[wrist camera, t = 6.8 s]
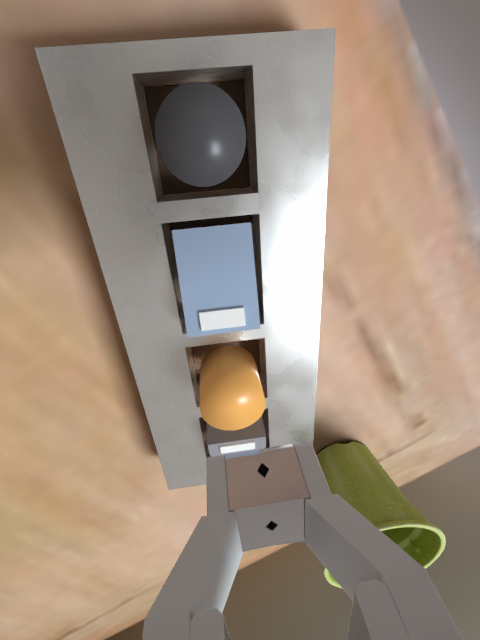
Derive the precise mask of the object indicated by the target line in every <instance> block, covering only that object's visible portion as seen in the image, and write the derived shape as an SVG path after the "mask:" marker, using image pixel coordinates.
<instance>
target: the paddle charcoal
mask: <svg viewBox="0 0 480 640" xmlns="http://www.w3.org/2000/svg"><path fill="white" fill-rule="evenodd" d="M206 425H207V445H208V449H209V453H210V456H211V457H212V456H219V455H225V454H233V453H240V452H248V451H256V450H259V449H264V448H266V433H265V428H264V423H263V418H262V416H261V417H260V418H259V419H258V420H257V421H256V422H255V423H253V424H252V425H250V426H248V427H246V428H243V429H239V430H221V429H217V428H214V427H212V426H211V425H209V424H208V423H207V422H206Z"/></svg>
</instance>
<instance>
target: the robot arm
mask: <svg viewBox="0 0 480 640" xmlns="http://www.w3.org/2000/svg"><path fill="white" fill-rule="evenodd" d="M206 469H207V516H203V517H201V519H200V520H199V522H198V524H197V526H196V528H195V529H194V531H193V533H192V535H191V537H190V538H189V540H188V542H187V544H186V546H185V547H184V549H183V551H182V553H181V555H180V556H179V558H178V560H177V562H176V564H175V565H174V567H173V569H172V571H171V573H170V574H169V576H168V578H167V580H166V582H165V583H164V585H163V587H162V589H161V591H160V592H159V594H158V596H157V598H156V600H155V601H154V603H153V605H152V607H151V609H150V610H149V612H148V614H147V616H146V618H145V623H144V630H143V638H142V640H230V637H229V634H228V630H227V626H226V623H225V619H224V616H223V614H222V611H223V609H224V605H225V603H226V600H227V597H228V594H229V592H230V589H231V586H232V583H233V580H234V577H235V575H236V572H237V569H238V566H239V563H240V561H241V558H242V555H243V553H242V552H244V551H249V550H253V549H258V548H263V547H268V546H273V545H280V544H287V543H293V542H300V541H305V543H306V544H307V546H308V547H309V548H310V549H311V551H312V552H313V553H314V554H315V555H316V557H317V558H318V559H319V560H320V562H321V563H322V564H323V565H324V566H325V568H326V569H327V570H328V571H329V573H330V574H331V575H332V576H333V577H334V579H335V580H336V581H337V582H338V583H339V585H340V586H341V587H342V588H343V590H344V591H345V592H346V593H347V594H348V596H349V597H350V598H351V599H352V601H353V605H352V612H351V619H350V624H349V630H348V636H347V639H348V640H463V638H462V636H461V634H460V632H459V630H458V629H457V627H456V625H455V623H454V621H453V620H452V618H451V616H450V614H449V612H448V610H447V608H446V607H445V605H444V603H443V601H442V599H441V597H440V595H439V594H438V592H437V590H436V588H435V586H434V585H433V583H432V581H431V579H430V577H429V575H428V573H427V572H426V570H425V568H424V567H422V566H421V565H420V564H419V563H418V562H417V561H415V560H414V559H413V558H412V557H411V556H410V555H408V554H407V553H406V552H405V551H404V550H402V549H401V548H400V547H399V546H398V545H397V544H395V543H394V542H393V541H392V540H391V539H390V538H388V537H387V536H386V535H385V534H384V533H382V532H381V531H380V530H379V529H378V528H377V527H375V526H374V525H373V524H372V523H371V522H370V521H368V520H367V519H366V518H365V517H364V516H362V515H361V514H360V513H359V512H358V511H357V510H355V509H354V508H353V507H352V506H351V505H350V504H348V503H347V502H346V501H345V500H344V499H342V498H341V497H340V496H339V495H338V494H333V495H332V494H331V491H330V489H329V486H328V484H327V481H326V479H325V476H324V473H323V471H322V468H321V466H320V463H319V461H318V458H317V455H316V453H315V450H314V448H313V445H312V443H311V442H310V441H307V442H301V443H295V444H287V445H281V446H275V447H269V448H264V449H259V450H256V451H248V452H240V453H233V454H225V455H219V456H212V457H207V463H206Z"/></svg>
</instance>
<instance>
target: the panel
mask: <svg viewBox="0 0 480 640" xmlns="http://www.w3.org/2000/svg"><path fill="white" fill-rule="evenodd" d="M335 34H336V28H327V29H312V30H296V31H281V32H266V33H251V34H236V35H220V36H205V37H190V38H175V39H160V40H144V41H129V42H114V43H99V44H84V45H68V46H53V47H38V48H34V49H35V52H36V55H37V59H38V62H39V65H40V69H41V72H42V75H43V78H44V82H45V85H46V88H47V91H48V95H49V98H50V101H51V105H52V108H53V111H54V114H55V118H56V121H57V124H58V128H59V131H60V134H61V137H62V141H63V144H64V147H65V151H66V154H67V157H68V160H69V164H70V167H71V170H72V174H73V177H74V180H75V183H76V187H77V190H78V193H79V196H80V200H81V203H82V206H83V210H84V213H85V216H86V219H87V223H88V226H89V229H90V233H91V236H92V239H93V242H94V246H95V249H96V252H97V256H98V259H99V262H100V265H101V269H102V272H103V275H104V278H105V282H106V285H107V288H108V292H109V295H110V298H111V301H112V305H113V308H114V311H115V315H116V318H117V321H118V324H119V328H120V331H121V334H122V338H123V341H124V344H125V347H126V351H127V354H128V357H129V360H130V364H131V367H132V370H133V374H134V377H135V380H136V383H137V387H138V390H139V393H140V397H141V400H142V403H143V406H144V410H145V413H146V416H147V420H148V423H149V426H150V429H151V433H152V436H153V439H154V443H155V446H156V449H157V452H158V456H159V459H160V462H161V465H162V469H163V472H164V475H165V479H166V482H167V485H168V488H169V490H171V489H177V488H184V487H191V486H197V485H204V484H207V469H206V463H207V457H211V456H210V453H209V449H208V445H207V431H206V425H205V420H204V419H203V418H202V415H201V413H200V380H197V376H196V370H195V365H194V359H193V354H192V348H191V347H195V346H203V345H211V344H219V343H227V342H235V341H243V340H251V339H259V353H260V370H261V372H258V374H259V377H260V381H261V385H262V389H263V393H264V397H265V402H266V404H265V410H264V412H263V423H264V428H265V433H266V448H269V447H275V446H281V445H287V444H295V443H301V442H307V441H310V442H311V443H312V445H313V440H314V422H315V403H316V385H317V366H318V348H319V330H320V311H321V293H322V274H323V256H324V237H325V219H326V200H327V182H328V164H329V145H330V127H331V108H332V90H333V71H334V53H335ZM232 80H244V85H245V103H246V121H247V139H248V157H249V175H250V187H244V188H233V189H223V190H212V191H202V192H191V193H180V194H170V195H163V189H162V184H161V178H160V173H159V167H158V162H157V156H156V151H155V146H154V140H153V135H152V129H151V124H150V118H149V113H148V107H147V102H146V96H145V91H144V87H151V86H165V85H178V84H185V83H189V82H218V81H232ZM242 215H252V228H253V246H254V261H255V272H256V284H257V295H258V306H259V317H260V328H261V329H253V330H245V331H237V332H228V333H220V334H212V335H204V336H196V337H187V331H186V324H185V317H184V311H183V304H182V297H181V290H180V284H179V277H178V272H177V266H176V261H175V255H174V250H173V244H172V239H171V233H170V228H169V223H172V222H182V221H192V220H202V219H212V218H222V217H232V216H242Z"/></svg>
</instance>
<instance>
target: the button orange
mask: <svg viewBox="0 0 480 640" xmlns="http://www.w3.org/2000/svg"><path fill="white" fill-rule="evenodd" d="M265 404H266V402H265V397H264V393H263V389H262V385H261V381H260V377H259V374H258V370H257V366H256V362H255V359H254V357H253V356H252V354H251V353H250V352H249V351H247V350H246V349H244V348H242V347H239V346H234V345H226V346H221V347H218V348H215V349H213V350H212V351H210V352H209V353H208V354H207V355H206V356H205V357H204V359H203V360H202V362H201V366H200V413H201V415H202V418H203V419H204V420H205V421H206V422H207V423H208V424H209V425H211V426H212V427H214V428H217V429H221V430H239V429H243V428H246V427H248V426H250V425H252V424H253V423H255V422H256V421H257V420H258V419H259V418H260V417H261V416H262V414H263V412H264V410H265Z"/></svg>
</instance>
